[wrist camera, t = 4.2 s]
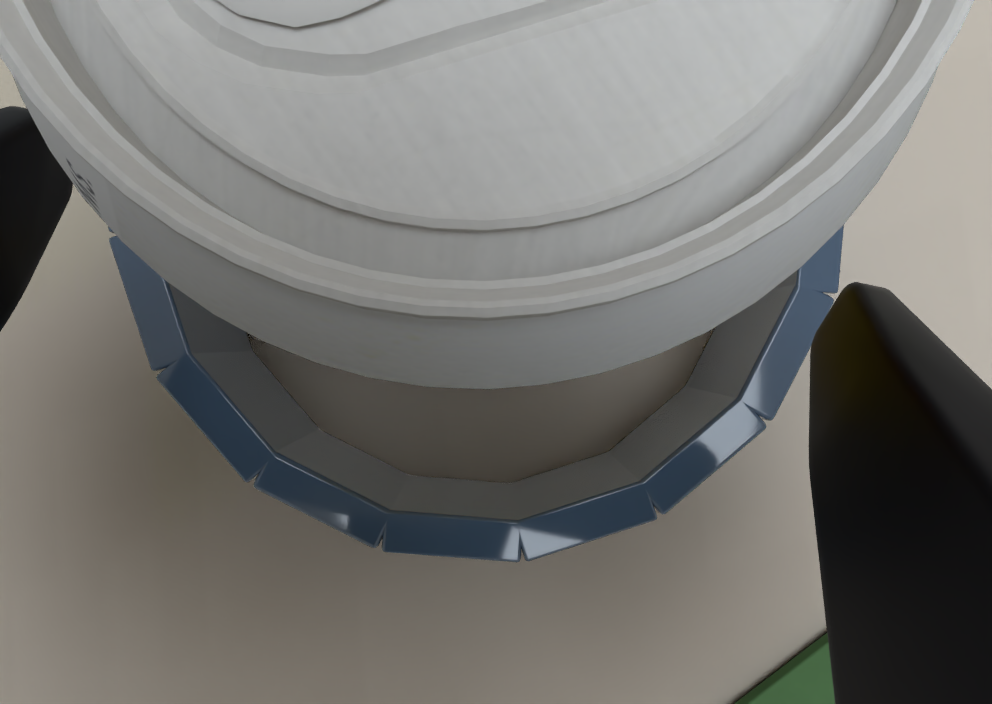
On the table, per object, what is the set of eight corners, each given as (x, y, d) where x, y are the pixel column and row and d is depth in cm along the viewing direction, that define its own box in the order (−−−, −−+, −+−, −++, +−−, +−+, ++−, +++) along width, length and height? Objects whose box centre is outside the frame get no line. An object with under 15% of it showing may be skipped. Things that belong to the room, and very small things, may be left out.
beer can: (652, 288, 19) (1316, 79, 4) (417, 395, 19) (156, 612, 4) (545, 52, 19) (797, -1119, 4) (309, 160, 19) (-407, -589, 4)
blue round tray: (448, 630, 19) (438, 708, 15) (70, 189, 19) (-44, 148, 15) (886, 258, 19) (994, 236, 15) (514, -187, 19) (523, -332, 15)
